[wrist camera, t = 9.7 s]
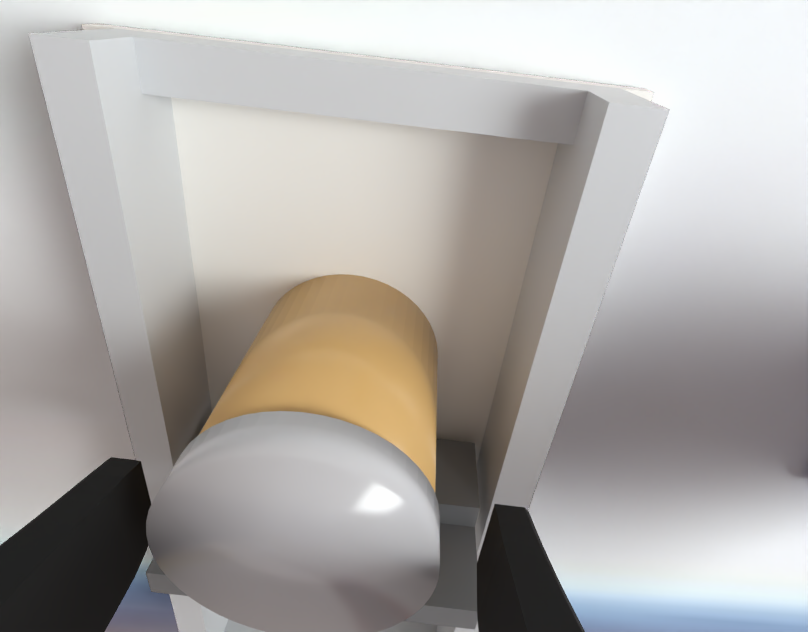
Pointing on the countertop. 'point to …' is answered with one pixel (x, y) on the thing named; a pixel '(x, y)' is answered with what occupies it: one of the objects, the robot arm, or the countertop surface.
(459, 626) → the pusher
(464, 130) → the tray
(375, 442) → the amber jar
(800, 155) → the countertop surface
